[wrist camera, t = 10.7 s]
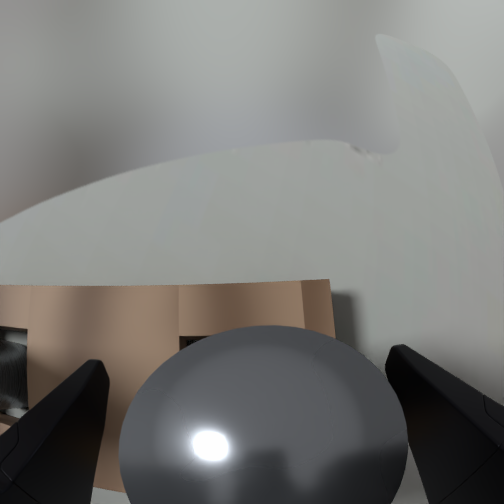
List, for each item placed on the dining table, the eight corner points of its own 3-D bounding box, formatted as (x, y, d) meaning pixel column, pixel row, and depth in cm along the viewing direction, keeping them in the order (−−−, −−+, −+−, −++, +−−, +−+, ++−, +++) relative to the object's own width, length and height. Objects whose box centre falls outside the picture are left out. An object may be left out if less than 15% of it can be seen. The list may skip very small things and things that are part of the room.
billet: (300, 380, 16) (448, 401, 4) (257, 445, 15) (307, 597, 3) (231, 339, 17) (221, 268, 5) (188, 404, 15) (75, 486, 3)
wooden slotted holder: (317, 290, 18) (329, 278, 16) (328, 472, 14) (342, 486, 12) (-20, 292, 16) (-42, 283, 14) (-19, 436, 13) (-41, 438, 10)
